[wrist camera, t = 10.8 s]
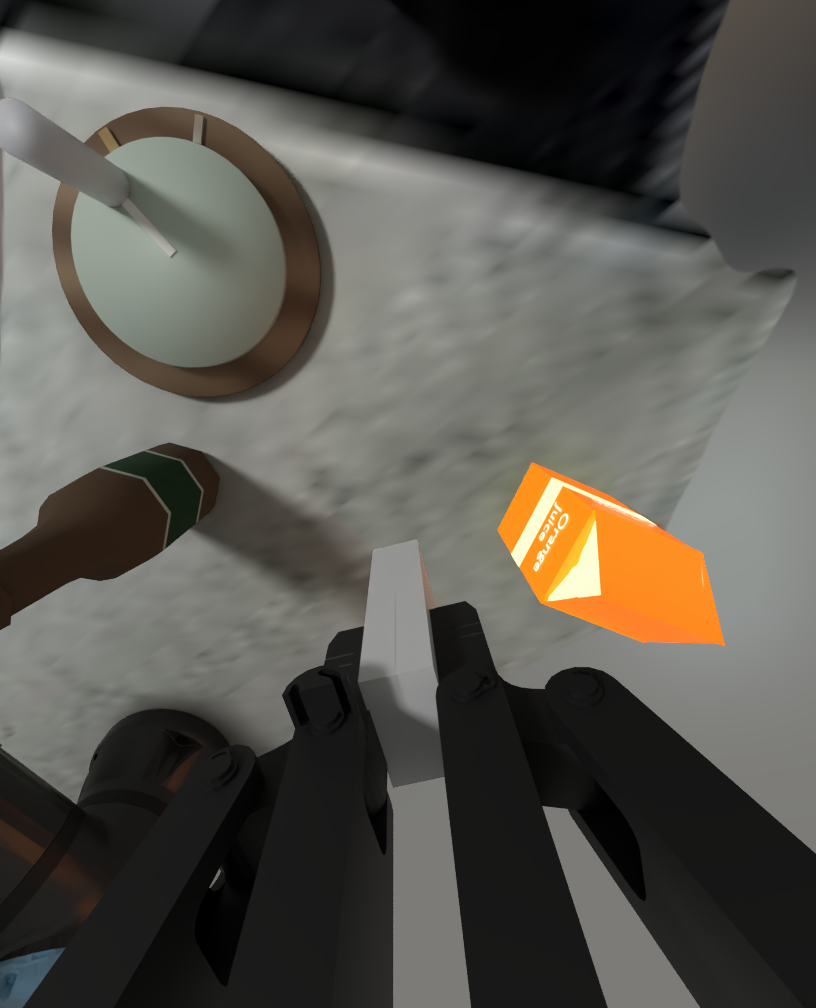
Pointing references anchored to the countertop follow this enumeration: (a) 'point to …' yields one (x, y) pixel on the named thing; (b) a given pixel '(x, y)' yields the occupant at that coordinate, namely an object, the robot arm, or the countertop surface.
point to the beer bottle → (107, 523)
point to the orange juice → (607, 562)
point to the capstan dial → (163, 240)
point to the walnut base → (287, 215)
